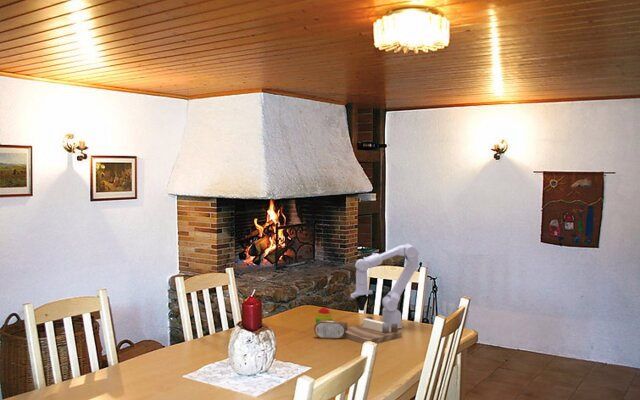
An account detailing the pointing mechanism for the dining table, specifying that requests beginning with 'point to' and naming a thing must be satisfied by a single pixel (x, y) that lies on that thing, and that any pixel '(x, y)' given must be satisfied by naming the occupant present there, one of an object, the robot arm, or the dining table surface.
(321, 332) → the tin
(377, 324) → the folding leg
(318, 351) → the dining table surface
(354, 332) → the stool seat
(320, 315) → the decorative egg
